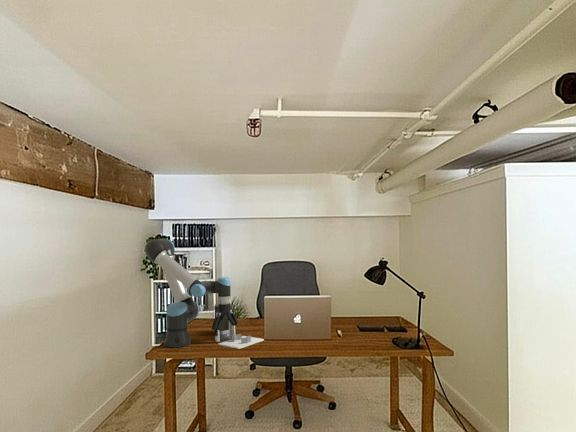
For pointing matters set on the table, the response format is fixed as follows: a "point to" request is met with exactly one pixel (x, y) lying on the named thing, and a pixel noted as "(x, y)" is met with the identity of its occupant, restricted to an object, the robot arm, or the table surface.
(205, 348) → the table surface
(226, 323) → the vintage camera
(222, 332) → the light grey cube
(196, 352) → the table surface
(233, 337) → the barrel stand
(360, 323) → the table surface
